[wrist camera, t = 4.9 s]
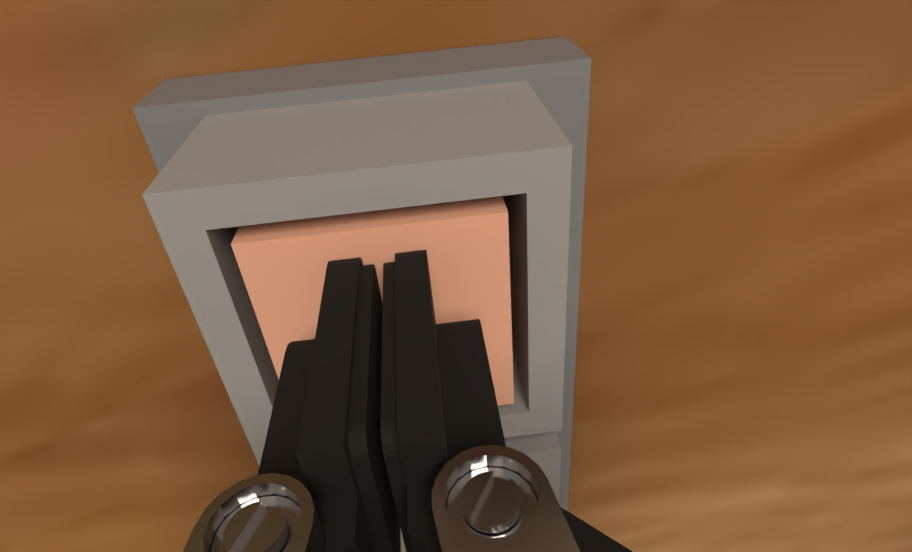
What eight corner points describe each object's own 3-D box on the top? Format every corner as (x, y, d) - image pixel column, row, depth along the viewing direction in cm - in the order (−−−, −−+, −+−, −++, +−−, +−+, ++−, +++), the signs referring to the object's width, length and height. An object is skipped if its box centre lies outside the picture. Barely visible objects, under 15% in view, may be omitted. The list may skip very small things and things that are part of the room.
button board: (552, 547, 25) (587, 694, 20) (344, 576, 25) (334, 731, 20) (565, 36, 13) (659, 116, 9) (165, 79, 13) (41, 186, 8)
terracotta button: (491, 310, 14) (514, 404, 12) (313, 332, 14) (297, 431, 12) (482, 140, 12) (507, 212, 9) (265, 165, 12) (230, 244, 9)
